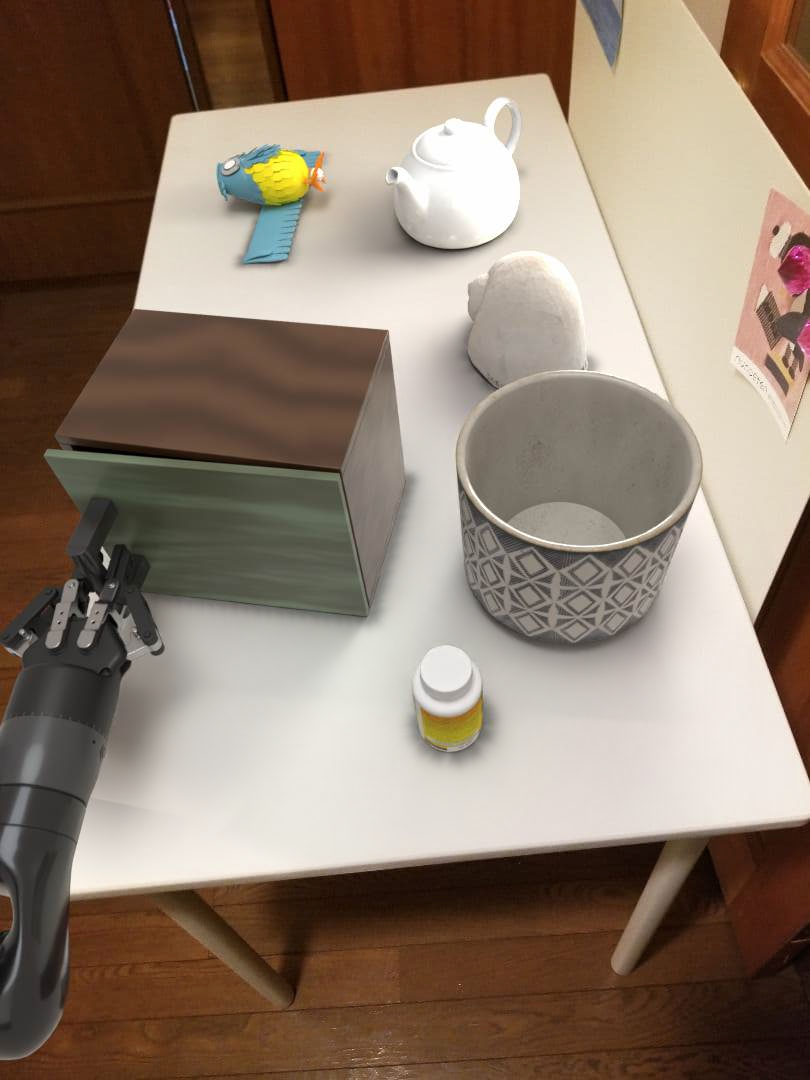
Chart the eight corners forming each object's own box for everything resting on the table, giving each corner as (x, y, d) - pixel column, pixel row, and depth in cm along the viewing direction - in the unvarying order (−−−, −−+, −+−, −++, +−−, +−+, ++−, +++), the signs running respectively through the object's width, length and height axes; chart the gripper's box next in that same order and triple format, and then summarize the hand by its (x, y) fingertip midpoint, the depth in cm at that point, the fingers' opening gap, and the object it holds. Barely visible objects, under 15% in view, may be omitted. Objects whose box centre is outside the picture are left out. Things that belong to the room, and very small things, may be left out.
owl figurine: (299, 203, 102) (185, 207, 104) (312, 262, 109) (205, 265, 111) (334, 96, 118) (235, 101, 121) (343, 153, 125) (250, 157, 127)
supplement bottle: (494, 736, 68) (496, 682, 60) (435, 765, 67) (429, 714, 58) (463, 682, 71) (461, 624, 63) (406, 709, 70) (396, 653, 62)
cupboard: (370, 608, 76) (340, 469, 60) (139, 573, 81) (53, 435, 65) (406, 480, 85) (388, 329, 69) (196, 455, 90) (134, 308, 74)
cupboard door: (354, 673, 72) (318, 545, 56) (107, 642, 76) (8, 514, 60) (369, 609, 76) (339, 472, 60) (133, 583, 80) (47, 448, 64)
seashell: (539, 353, 105) (478, 255, 99) (631, 325, 95) (570, 213, 88) (486, 427, 98) (417, 326, 91) (580, 404, 87) (510, 288, 81)
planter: (688, 525, 79) (729, 404, 66) (628, 689, 69) (663, 586, 56) (505, 469, 85) (509, 347, 72) (427, 612, 75) (415, 502, 62)
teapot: (530, 252, 107) (536, 152, 96) (392, 261, 108) (382, 163, 97) (519, 176, 118) (523, 78, 107) (394, 185, 119) (385, 89, 108)
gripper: (125, 718, 56) (173, 521, 66) (-63, 719, 57) (13, 525, 68) (159, 758, 62) (199, 571, 72) (-11, 758, 63) (51, 574, 74)
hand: (109, 550), depth 70 cm, fingers closed on cupboard door, 2 cm apart
